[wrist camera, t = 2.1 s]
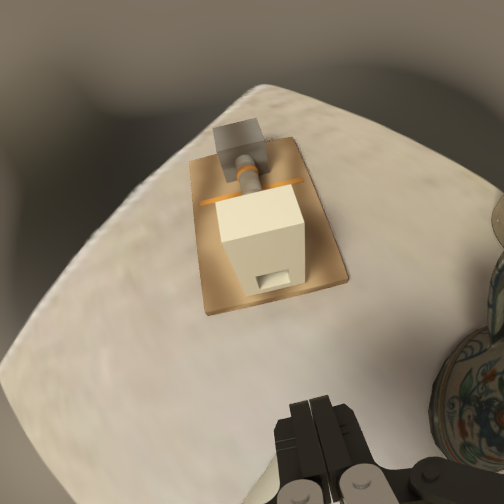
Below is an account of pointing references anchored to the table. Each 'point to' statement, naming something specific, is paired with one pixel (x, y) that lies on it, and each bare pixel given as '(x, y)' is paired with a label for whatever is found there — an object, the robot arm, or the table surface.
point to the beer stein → (474, 391)
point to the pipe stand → (246, 182)
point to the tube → (265, 485)
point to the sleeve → (264, 239)
